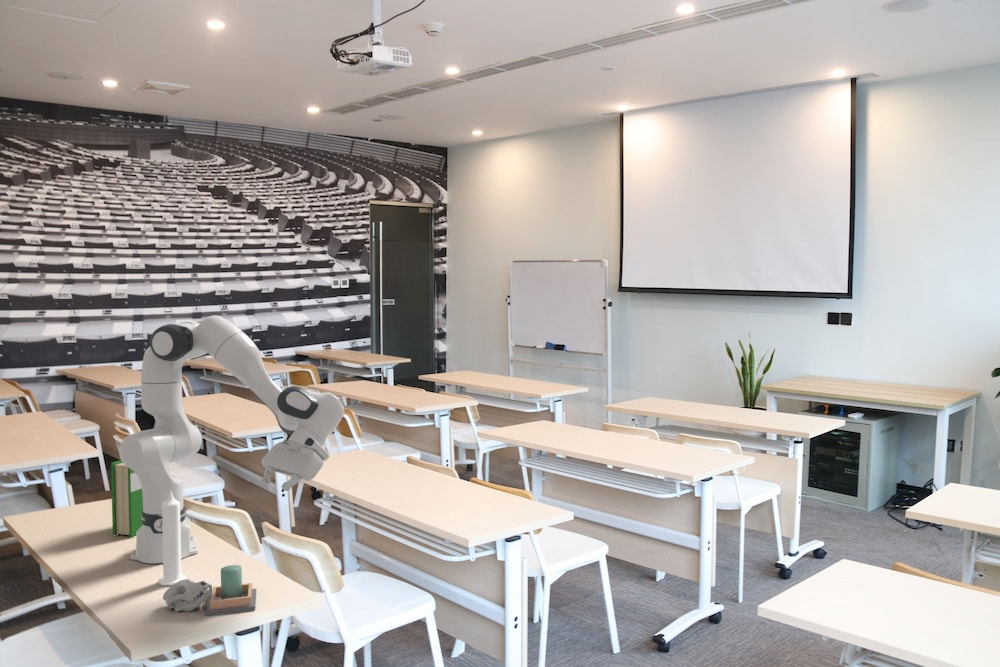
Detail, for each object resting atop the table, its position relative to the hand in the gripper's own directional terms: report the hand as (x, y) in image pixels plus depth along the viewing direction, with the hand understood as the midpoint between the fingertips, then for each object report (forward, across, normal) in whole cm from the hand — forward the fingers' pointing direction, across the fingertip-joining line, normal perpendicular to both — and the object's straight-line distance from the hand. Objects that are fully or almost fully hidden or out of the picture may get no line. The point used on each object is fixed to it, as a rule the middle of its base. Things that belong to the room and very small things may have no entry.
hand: (273, 486), depth 200 cm
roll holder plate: (+29, +1, +10) cm, 31 cm away
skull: (+35, -5, +4) cm, 36 cm away
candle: (+31, -25, +9) cm, 40 cm away
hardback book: (+20, -76, +21) cm, 82 cm away
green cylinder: (+28, +1, +9) cm, 30 cm away
